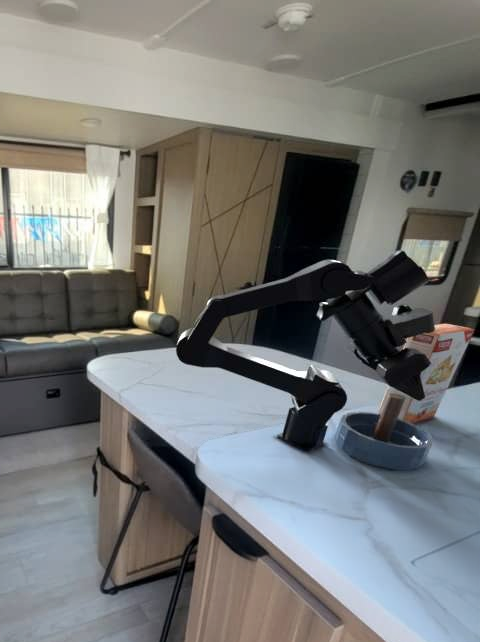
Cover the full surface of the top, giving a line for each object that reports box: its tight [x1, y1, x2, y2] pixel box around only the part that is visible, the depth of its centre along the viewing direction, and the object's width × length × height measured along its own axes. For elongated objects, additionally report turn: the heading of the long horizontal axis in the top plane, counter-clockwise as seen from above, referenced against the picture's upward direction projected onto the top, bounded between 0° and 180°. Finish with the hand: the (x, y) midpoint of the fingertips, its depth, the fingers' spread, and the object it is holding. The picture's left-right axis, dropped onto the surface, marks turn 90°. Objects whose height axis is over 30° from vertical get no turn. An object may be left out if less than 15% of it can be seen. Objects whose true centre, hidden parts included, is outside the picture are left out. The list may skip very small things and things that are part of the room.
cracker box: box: [377, 323, 475, 424], centre depth 88 cm, size 14×6×21 cm, turn 117°
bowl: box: [334, 411, 434, 471], centre depth 77 cm, size 15×15×5 cm
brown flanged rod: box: [368, 394, 406, 444], centre depth 76 cm, size 5×5×11 cm
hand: (409, 389), depth 73 cm, fingers open, 9 cm apart
